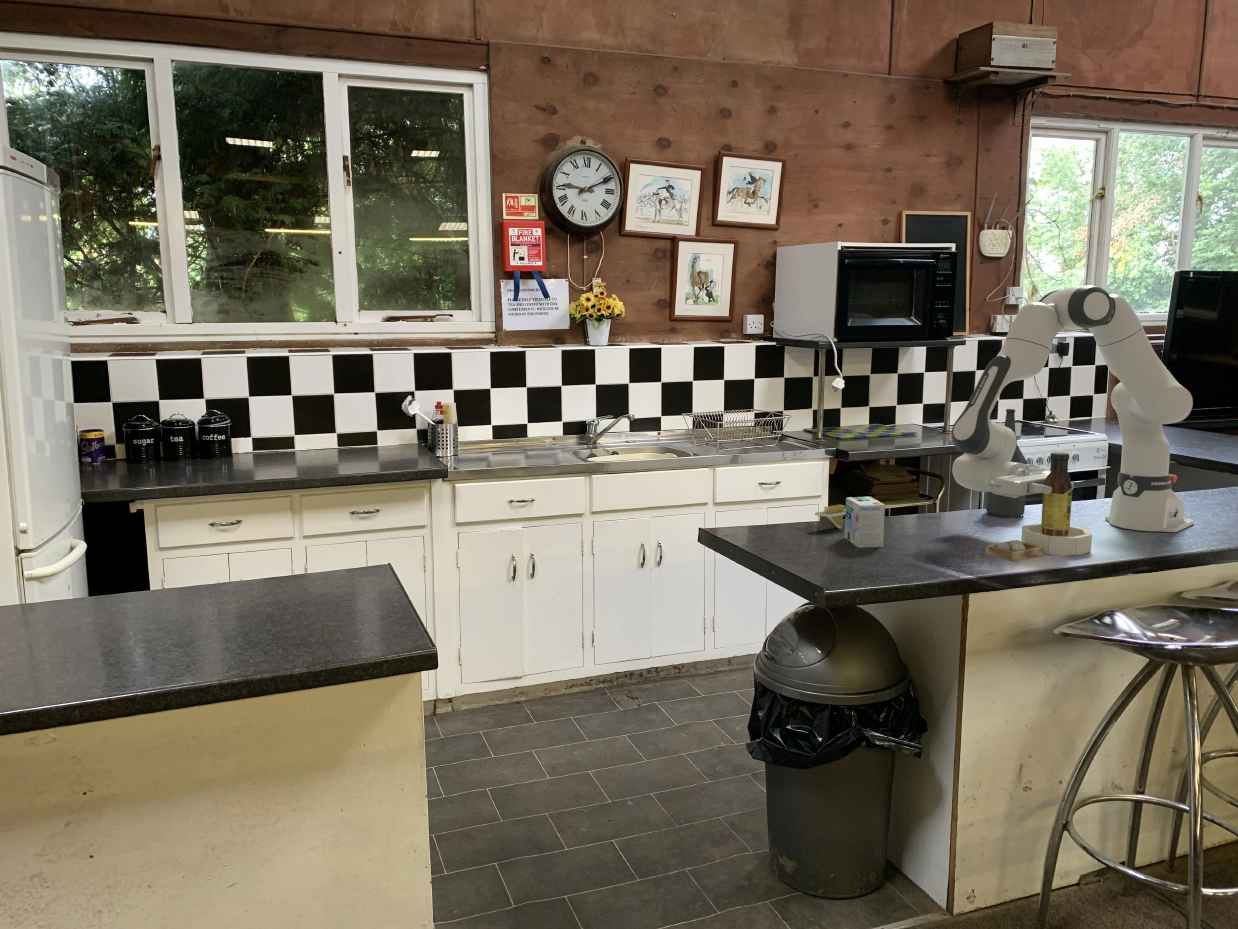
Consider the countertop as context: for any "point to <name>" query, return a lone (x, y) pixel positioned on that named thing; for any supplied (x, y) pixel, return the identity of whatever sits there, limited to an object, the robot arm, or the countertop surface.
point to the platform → (831, 517)
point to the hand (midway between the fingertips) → (1061, 488)
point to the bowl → (1058, 540)
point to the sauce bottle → (1057, 497)
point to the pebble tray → (1029, 553)
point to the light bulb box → (864, 522)
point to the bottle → (1003, 504)
